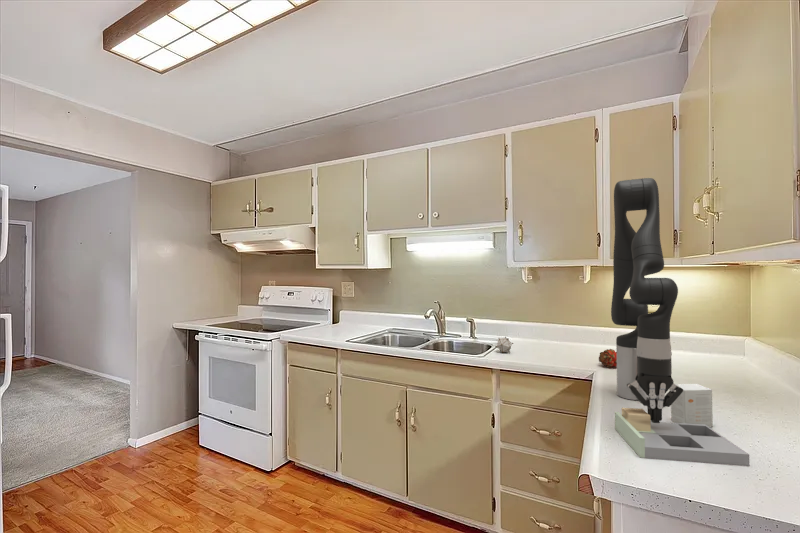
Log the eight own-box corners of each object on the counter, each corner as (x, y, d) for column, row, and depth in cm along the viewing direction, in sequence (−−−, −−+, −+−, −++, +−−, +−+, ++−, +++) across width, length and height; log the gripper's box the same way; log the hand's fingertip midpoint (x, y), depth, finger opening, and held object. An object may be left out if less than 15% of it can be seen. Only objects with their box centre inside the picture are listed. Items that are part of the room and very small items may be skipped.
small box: (697, 419, 114) (696, 383, 114) (713, 427, 108) (713, 389, 108) (670, 420, 113) (669, 383, 113) (684, 428, 108) (684, 389, 108)
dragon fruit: (607, 373, 170) (608, 371, 180) (625, 363, 167) (625, 361, 178) (594, 356, 173) (596, 354, 184) (612, 345, 171) (612, 345, 181)
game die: (508, 360, 205) (516, 346, 200) (492, 354, 205) (500, 340, 200) (507, 348, 213) (515, 335, 207) (492, 343, 213) (500, 329, 207)
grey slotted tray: (614, 428, 108) (614, 411, 108) (705, 434, 104) (705, 416, 104) (640, 457, 91) (639, 438, 91) (749, 465, 87) (749, 445, 87)
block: (621, 422, 105) (621, 407, 106) (642, 423, 105) (642, 408, 105) (629, 430, 101) (628, 414, 101) (650, 431, 100) (650, 415, 100)
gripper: (675, 352, 105) (676, 418, 104) (620, 351, 107) (621, 415, 107) (690, 359, 97) (691, 429, 97) (631, 357, 100) (632, 425, 100)
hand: (654, 421), depth 102 cm, fingers closed
